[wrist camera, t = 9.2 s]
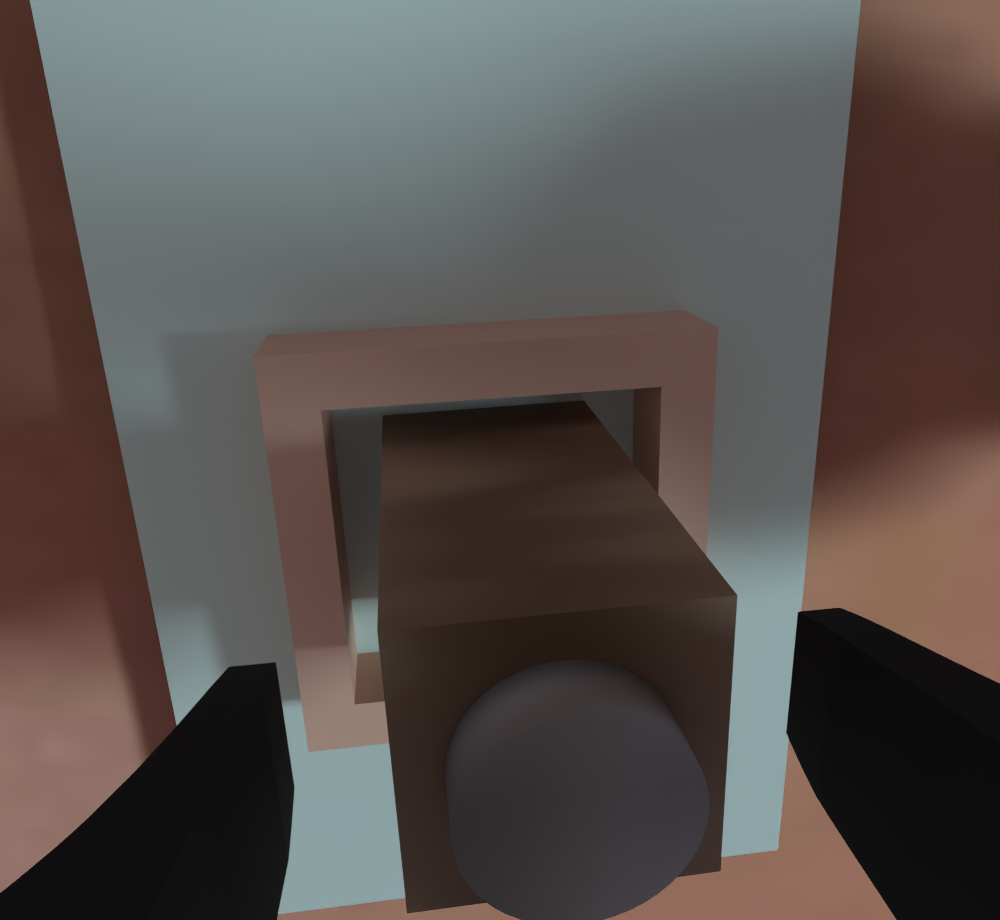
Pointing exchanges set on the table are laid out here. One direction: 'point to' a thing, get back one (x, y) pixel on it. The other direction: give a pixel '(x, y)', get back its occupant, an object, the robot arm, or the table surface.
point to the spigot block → (546, 667)
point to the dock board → (447, 316)
